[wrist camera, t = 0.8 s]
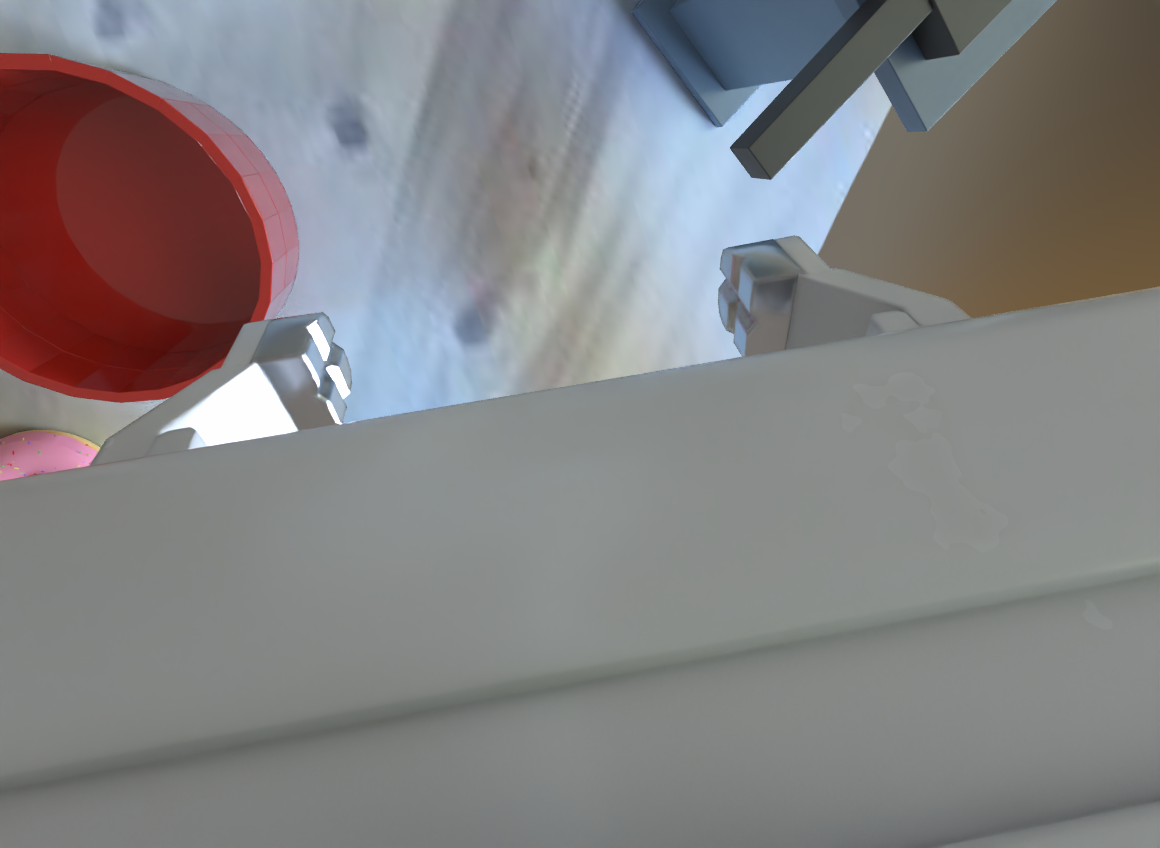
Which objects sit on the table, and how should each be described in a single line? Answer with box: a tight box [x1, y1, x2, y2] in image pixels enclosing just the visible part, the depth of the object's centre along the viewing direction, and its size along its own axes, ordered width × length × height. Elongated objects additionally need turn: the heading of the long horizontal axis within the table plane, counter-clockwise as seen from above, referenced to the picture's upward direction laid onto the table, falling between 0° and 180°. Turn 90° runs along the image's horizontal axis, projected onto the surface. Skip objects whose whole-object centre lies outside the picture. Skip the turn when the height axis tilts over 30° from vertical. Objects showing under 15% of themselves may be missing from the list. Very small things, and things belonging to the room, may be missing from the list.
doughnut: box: [0, 430, 100, 481], centre depth 52 cm, size 11×11×4 cm
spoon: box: [730, 0, 1012, 180], centre depth 27 cm, size 18×7×2 cm, turn 135°
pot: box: [0, 53, 299, 403], centre depth 43 cm, size 22×22×10 cm
